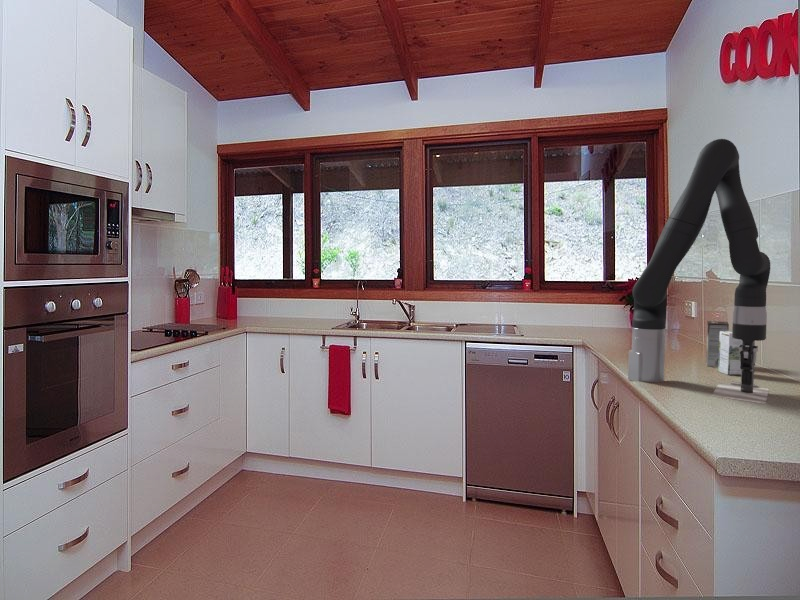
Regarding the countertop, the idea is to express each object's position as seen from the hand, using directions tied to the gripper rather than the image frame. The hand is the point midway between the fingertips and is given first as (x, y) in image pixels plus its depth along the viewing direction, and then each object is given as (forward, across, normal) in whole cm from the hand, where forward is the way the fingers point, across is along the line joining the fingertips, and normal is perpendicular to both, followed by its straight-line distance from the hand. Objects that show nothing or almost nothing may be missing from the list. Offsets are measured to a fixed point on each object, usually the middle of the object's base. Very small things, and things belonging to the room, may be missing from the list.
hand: (747, 383), depth 127 cm
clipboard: (+3, -2, +1) cm, 4 cm away
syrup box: (+4, +30, +7) cm, 31 cm away
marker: (+2, 0, 0) cm, 3 cm away
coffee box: (+3, +44, +13) cm, 46 cm away
